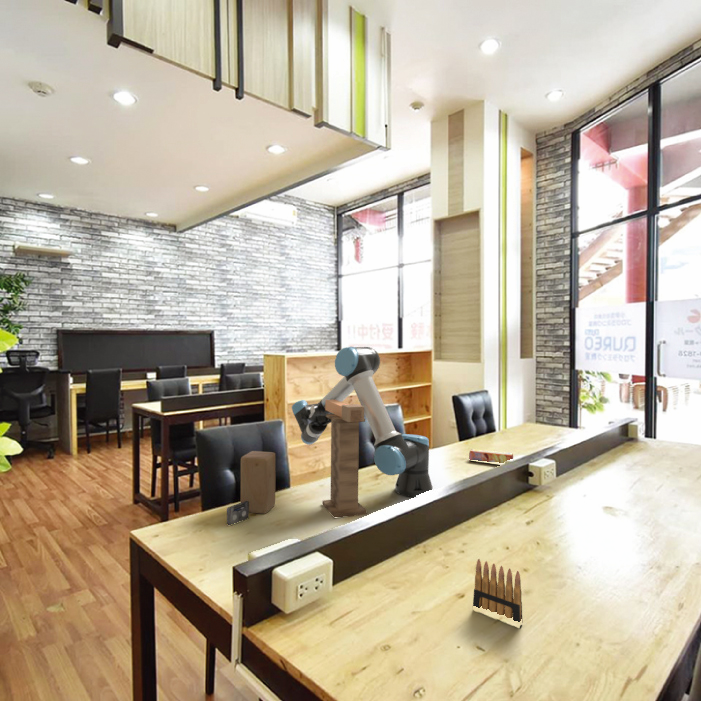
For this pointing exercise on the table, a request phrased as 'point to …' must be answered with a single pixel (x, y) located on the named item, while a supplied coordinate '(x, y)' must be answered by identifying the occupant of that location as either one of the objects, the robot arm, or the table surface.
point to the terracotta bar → (345, 410)
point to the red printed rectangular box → (489, 456)
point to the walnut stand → (344, 468)
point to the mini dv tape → (238, 512)
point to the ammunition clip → (498, 592)
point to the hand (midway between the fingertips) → (330, 407)
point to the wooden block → (258, 481)
